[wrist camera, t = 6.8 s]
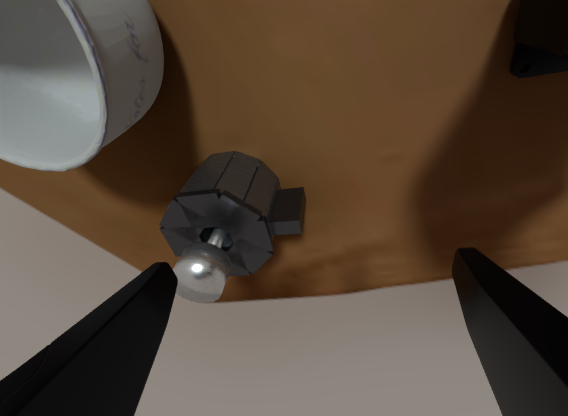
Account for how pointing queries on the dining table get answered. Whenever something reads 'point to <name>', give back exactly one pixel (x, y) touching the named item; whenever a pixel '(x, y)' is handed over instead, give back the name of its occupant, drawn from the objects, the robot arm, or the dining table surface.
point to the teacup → (74, 77)
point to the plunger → (203, 269)
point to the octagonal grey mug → (234, 210)
